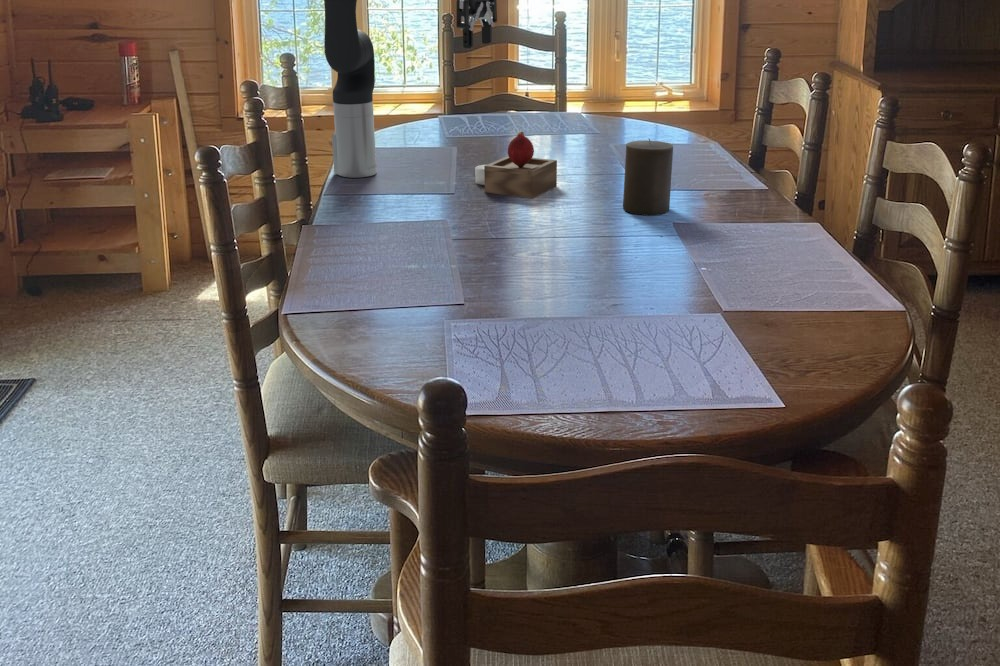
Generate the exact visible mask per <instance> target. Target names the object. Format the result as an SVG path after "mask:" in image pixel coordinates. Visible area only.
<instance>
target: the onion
mask: <svg viewBox="0 0 1000 666" xmlns="http://www.w3.org/2000/svg"><path fill="white" fill-rule="evenodd" d="M534 153H535V148H534V144H533V143H532V141H531V140H530V139H529V138H528V137H527V136H526V135H525V132H523V131H522V130H521V131H519V132H518V134H517V135H516V136H515V137H514V138H513V139H511V141H510V142H509V144H508V146H507V156H509V158H510V160H511V161H512V162H513V163H514V164H515V165H517V166H518V167H523V166H524V165H525V164H527V163H528V162H529V161H530V160H531V159H532V158H534V157H533V156H534Z"/></svg>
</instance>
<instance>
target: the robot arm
mask: <svg viewBox="0 0 1000 666" xmlns="http://www.w3.org/2000/svg"><path fill="white" fill-rule="evenodd" d="M323 1H324V2H323V3H324V41H323V42H324V44H323V45H324V46H323V47H324V55H325V59H326V62H327V63H328V66H329V67H330V68H331V69H332V70H333V71H335V72H336V73H337V78H336V79H337V80H336V83H335V85H334V88H333V89H332V102H333V103H332V105H333V119H334V121H333V123H334V133H332V134H331V145H332V159H333V160H332V161H333V171H334V172H333V173H334V175H338V176H340V177H343V178H354V179H355V178H365V177H371V176H374V175H376V174H377V155H376V153H377V152H376V135H375V133H376V132H375V120H374V119H375V118H374V117H375V115H374V101H373V97H374V95H373V94H374V90H375V83H376V77H375V75H376V74H375V73H376V70H375V68H376V66H375V50H374V45H373V42H372V40H371V38H370V37H369V35H368V34H367V33H366V32H364V31H363V30H361V29H358V22H357V2H358V0H323ZM497 6H498V5H497V0H456V28H457V29H460V31H462V47H463V48H464V49H473V48H474V30H473V29H474V27H475V23H476V22H477V21H478V20H479V21H480V25H481V42H482V44H484V45H489V44H492V42H493V38H492V37H493V35H492V33H493V32H492V28H493V26H494V23H498V22H497V21H498V11H497V10H498V7H497Z"/></svg>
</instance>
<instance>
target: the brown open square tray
mask: <svg viewBox="0 0 1000 666" xmlns="http://www.w3.org/2000/svg"><path fill="white" fill-rule="evenodd" d="M484 165H485V166H484V172H485V185H484V193H488V194H496V195H503V196H511V197H519V198H527V199H535V198H537V197H539V196H541V195H543V194H545V193H547V192H548V191H550V190H553V189H554V188H556V187H557V181H558V179H557V176H558V175H557V174H558V171H557V170H558V169H557V168H558V161H557V159H549V158H539V157H532V159H531V160H530V161H529V162H528V163H527V164H525V165H524V166H523V167H518V166H517V165H515V164H514V163H513V162H512V161H511V160H510V158H509V156H508V155H507V156H504V157H502V158H499V159H498V160H495V161H493V162H490V163H488V164H484Z"/></svg>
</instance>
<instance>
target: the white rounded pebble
mask: <svg viewBox="0 0 1000 666" xmlns="http://www.w3.org/2000/svg"><path fill="white" fill-rule="evenodd" d="M485 165H486V164H480V165H477V166H475V168H474V171H475V172H474V173H475V183H476V184H478V185H482V186H485V172H484V166H485Z"/></svg>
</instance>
